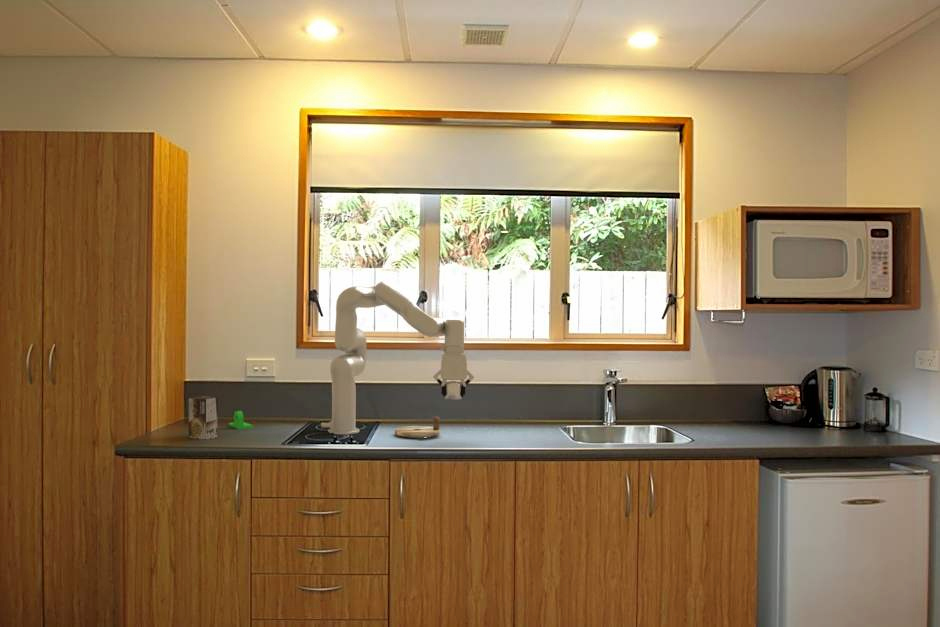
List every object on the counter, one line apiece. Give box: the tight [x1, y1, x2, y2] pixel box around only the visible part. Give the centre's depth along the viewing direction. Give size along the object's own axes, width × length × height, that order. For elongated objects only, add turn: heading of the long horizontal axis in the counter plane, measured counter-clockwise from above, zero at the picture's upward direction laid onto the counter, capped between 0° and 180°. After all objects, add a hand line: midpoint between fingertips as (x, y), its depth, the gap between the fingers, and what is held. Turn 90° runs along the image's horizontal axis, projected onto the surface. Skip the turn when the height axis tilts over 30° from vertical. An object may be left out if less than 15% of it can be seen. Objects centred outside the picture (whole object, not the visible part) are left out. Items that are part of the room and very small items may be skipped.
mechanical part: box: [228, 410, 254, 430], centre depth 300 cm, size 12×6×8 cm, turn 38°
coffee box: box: [188, 395, 219, 440], centre depth 274 cm, size 9×6×16 cm
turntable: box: [394, 416, 441, 438], centre depth 285 cm, size 18×18×6 cm
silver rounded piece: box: [444, 380, 462, 401], centre depth 277 cm, size 6×6×7 cm
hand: (453, 396), depth 277 cm, fingers closed on silver rounded piece, 6 cm apart
